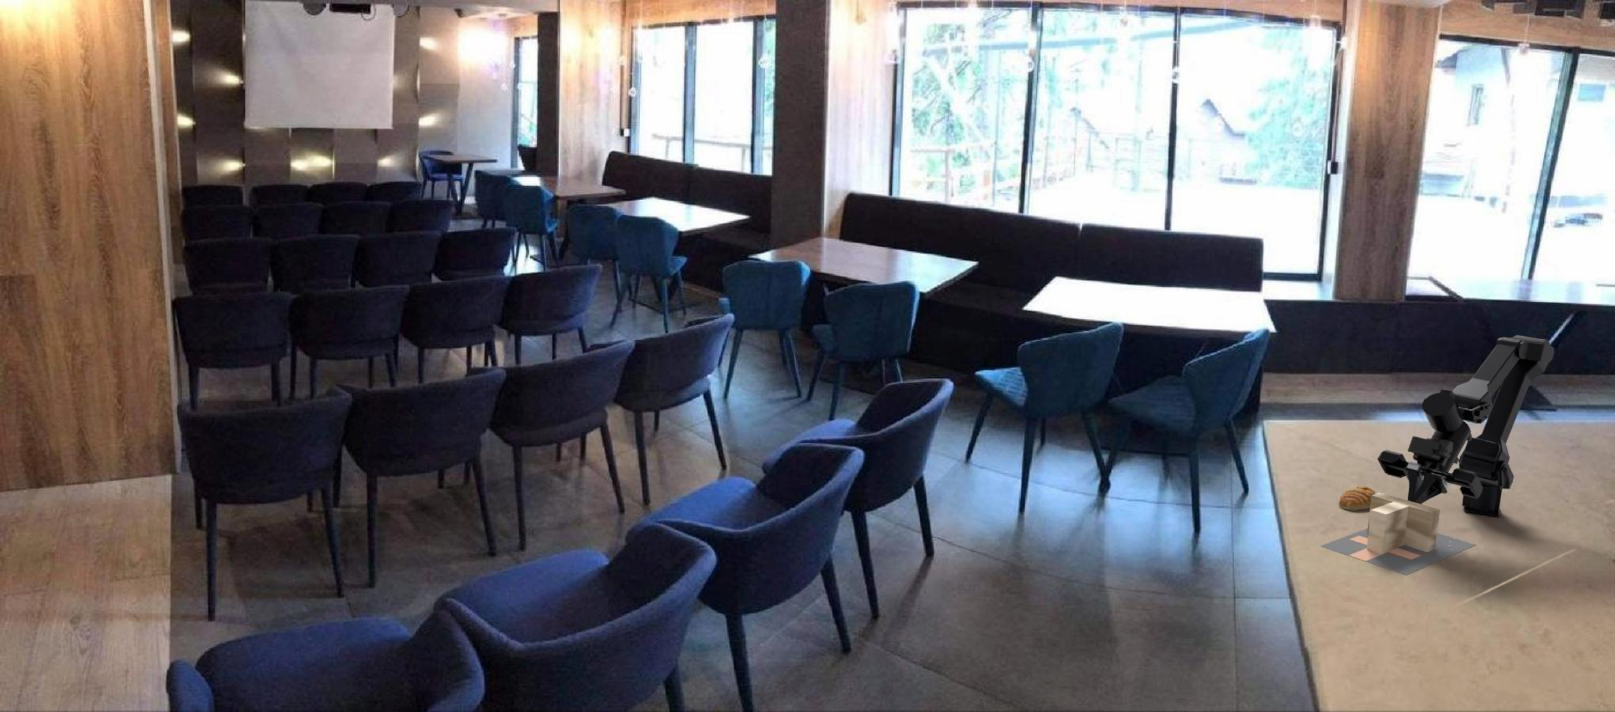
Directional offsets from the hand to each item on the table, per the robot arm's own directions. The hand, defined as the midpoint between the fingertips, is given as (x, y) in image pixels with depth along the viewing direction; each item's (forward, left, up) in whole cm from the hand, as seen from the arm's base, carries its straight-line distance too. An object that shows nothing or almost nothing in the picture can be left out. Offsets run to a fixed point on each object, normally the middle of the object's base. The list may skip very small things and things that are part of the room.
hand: (1409, 507), depth 229 cm
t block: (+2, +5, -7) cm, 9 cm away
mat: (+1, +5, -7) cm, 8 cm away
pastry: (+10, -17, -7) cm, 21 cm away
